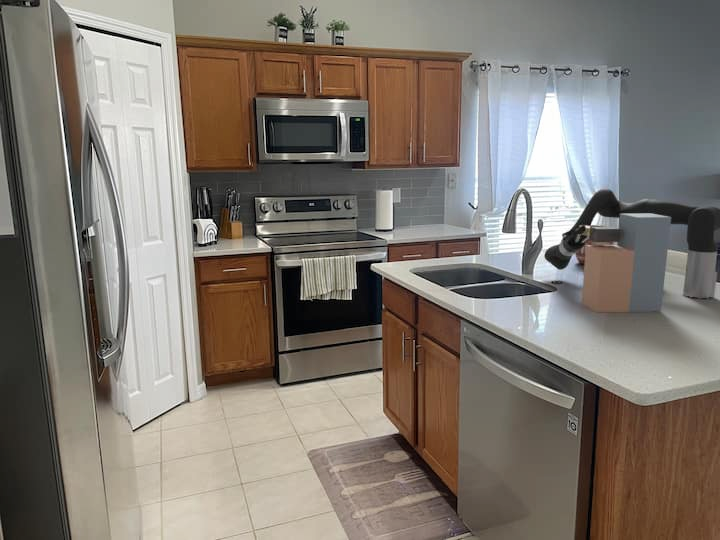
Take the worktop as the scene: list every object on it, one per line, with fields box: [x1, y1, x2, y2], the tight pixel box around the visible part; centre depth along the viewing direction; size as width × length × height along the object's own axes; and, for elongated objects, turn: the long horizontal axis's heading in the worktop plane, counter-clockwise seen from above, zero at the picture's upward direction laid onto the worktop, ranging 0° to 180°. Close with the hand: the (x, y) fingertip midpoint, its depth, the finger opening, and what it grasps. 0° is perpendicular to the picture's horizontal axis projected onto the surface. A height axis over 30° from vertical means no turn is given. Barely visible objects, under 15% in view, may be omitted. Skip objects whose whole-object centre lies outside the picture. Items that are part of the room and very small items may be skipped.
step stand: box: [581, 213, 672, 313], centre depth 188 cm, size 22×12×32 cm, turn 91°
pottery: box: [574, 224, 615, 266], centre depth 264 cm, size 18×18×18 cm
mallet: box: [579, 225, 621, 243], centre depth 198 cm, size 21×8×4 cm, turn 1°
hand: (589, 227), depth 202 cm, fingers closed on mallet, 3 cm apart
